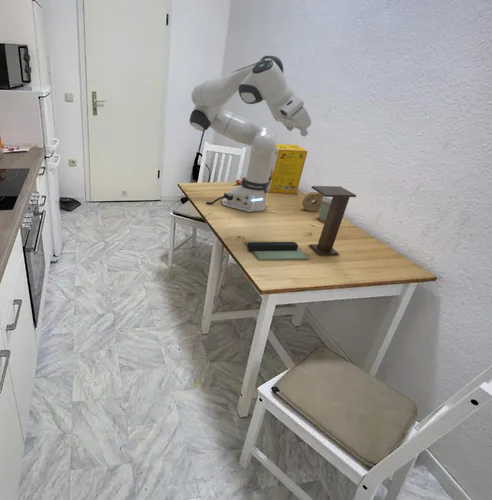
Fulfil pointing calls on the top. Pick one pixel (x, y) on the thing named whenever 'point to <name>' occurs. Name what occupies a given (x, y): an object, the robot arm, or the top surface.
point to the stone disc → (315, 205)
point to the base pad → (280, 255)
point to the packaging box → (286, 168)
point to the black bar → (272, 246)
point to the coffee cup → (325, 208)
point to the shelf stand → (331, 217)
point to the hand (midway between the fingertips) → (297, 132)
